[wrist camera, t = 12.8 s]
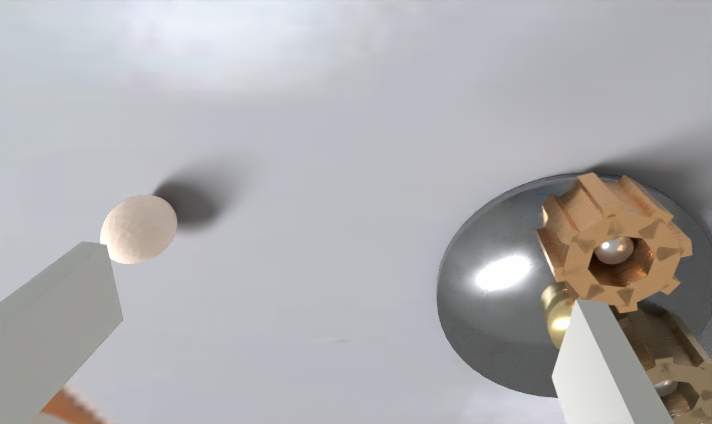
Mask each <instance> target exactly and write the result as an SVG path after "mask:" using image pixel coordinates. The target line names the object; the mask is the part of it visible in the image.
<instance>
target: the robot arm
mask: <svg viewBox="0 0 712 424" xmlns="http://www.w3.org/2000/svg"><path fill="white" fill-rule="evenodd" d="M122 321H123V316H122V311H121V307H120V302H119V298H118V293H117V289H116V284H115V280H114V275H113V270H112V266H111V261H110V257H109V252H108V248H107V244H99V243H90V242H81V243H80V244H78V245H77V246H76V247H74V248H73V249H72V250H70V251H69V252H68V253H66V254H65V255H64V256H62V257H61V258H60V259H58V260H57V261H55V262H54V263H53V264H51V265H50V266H49V267H47V268H46V269H45V270H43V271H42V272H41V273H39V274H38V275H37V276H35V277H34V278H33V279H31V280H30V281H29V282H27V283H26V284H25V285H23V286H22V287H20V288H19V289H18V290H16V291H15V292H14V293H12V294H11V295H10V296H8V297H7V298H6V299H4V300H3V301H2V302H0V424H29V423H30V422H31V421H32V420H33V419H34V417H35V416H36V415H37V414H38V413H39V412H40V411H41V410H42V409H43V408H44V406H45V405H46V404H47V403H48V402H49V401H50V400H51V399H52V398H53V397H54V395H55V394H56V393H57V392H58V391H59V390H60V389H61V388H62V387H63V386H64V384H65V383H66V382H67V381H68V380H69V379H70V378H71V377H72V376H73V375H74V373H75V372H76V371H77V370H78V369H79V368H80V367H81V366H82V365H83V364H84V363H85V361H86V360H87V359H88V358H89V357H90V356H91V355H92V354H93V353H94V352H95V350H96V349H97V348H98V347H99V346H100V345H101V344H102V343H103V342H104V341H105V339H106V338H107V337H108V336H109V335H110V334H111V333H112V332H113V331H114V330H115V328H116V327H117V326H118V325H119V324H120V323H121V322H122ZM552 380H553V383H554V386H555V389H556V393H557V396H558V399H559V402H560V405H561V408H562V412H563V415H564V418H565V421H566V424H674V422H673V420H672V418H671V416H670V415H669V413H668V411H667V409H666V408H665V406H664V404H663V402H662V400H661V399H660V397H659V395H658V393H657V391H656V390H655V388H654V386H653V384H652V383H651V381H650V379H649V377H648V375H647V374H646V372H645V370H644V368H643V367H642V365H641V363H640V361H639V359H638V358H637V356H636V354H635V352H634V351H633V349H632V347H631V345H630V343H629V342H628V340H627V338H626V336H625V334H624V333H623V331H622V329H621V327H620V326H619V324H618V322H617V320H616V318H615V317H614V315H613V313H612V311H611V310H610V308H609V306H608V304H607V302H598V301H590V300H581V299H576V300H575V303H574V307H573V310H572V313H571V316H570V319H569V323H568V326H567V329H566V332H565V335H564V339H563V342H562V345H561V348H560V351H559V355H558V358H557V361H556V364H555V368H554V371H553V374H552Z"/></svg>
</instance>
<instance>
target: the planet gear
mask: <svg viewBox="0 0 712 424" xmlns="http://www.w3.org/2000/svg"><path fill="white" fill-rule="evenodd" d="M577 180H578V185H577V186H575V187H574V188H572V189H570V190H569V191H567V192H566V193H564V194H563V195H561V196H559V197H558V196H556V195H554V194H552V193H551V194H550V195H549V196H548V198H547V199H546V200H545V202H544V203H543V204H542V206H543V208H544V210H545V212H546V214H547V215H548V218H547V221H546V225H545V227H544V228H540V229H536V231H537V235H538V240H539V243H540V245H541V248H542V250H543V252H544V255H545V257H546V259H547V261H548V264H549V266H550V268H551V271H552V273H553V275H554V278H555V280H556V282H561V281H564V283H565V285H566V287H567V289H568V291H569V294H570V296H571V298H572V300H573V302H574V303H575V300H576V299H581V300H590V301H598V302H607V304H608V305H615V306H616V308H617V310H618V312H619V313H625V312H631V311H637V310H638V309H637V302H639V301H641V300H643V299H645V298H647V297H648V296H650V295H652V294H654V293H656V292H658V291H661V292H663V293H665V294H667V295H669V294H670V293H671V292H672V291H673V290H674V289H675V288H676V287H677V286H678V285H679V284H680V283H681V282H680V281H679V280H678V279H677V278H676V277H675V275H674V273H675V270H676V268H677V265H678V263H679V261H680V258H681V257H686V256H691V255H692V244H691V239H689V238H688V237H687V236H686V235H685V234H684V233H683V232H682V231H681V230H680V229H679V228H678V227H677V226H676V225H675V224H674V223H673V222H672V221H671V219H672V218H673V217H674V216H673V215H672V214H671V213H670V212H669V211H668V210H667V209H666V208H665V207H664V206H663V205H661V204H660V203H659V202H658V201H657V200H656V199H655V198H654V197H653V196H652V195H651V194H650V193H649V192H648V191H647V190H646V189H644V188H643V187H642V186H641V185H640V184H639V183H638V182H637V181H635V180H633V179H631V178H629V177H627V176H625V175H623V176H622V178H621V179H620V180H619V181H618V182H608V181H601V180H600V179H599V178H598V177H597V176H596V174H595V173H594V172H592V173H588V174H584V175H580V176H577ZM615 236H626V237H629V238H630V239H631V241H632V242H633V252H632V254H631V255H630V257H629V258H628V259H626V260H625V261H623V262H621V263H618V264H606V263H603V262H602V261H600V260H599V259H598V258H597V256H596V254H595V253H594V251H593V250H594V248H596V247H598V246H600V245H601V244H603V243H605V242H607V241H608V240H610V239H612V238H614V237H615Z"/></svg>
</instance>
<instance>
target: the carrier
mask: <svg viewBox="0 0 712 424" xmlns="http://www.w3.org/2000/svg"><path fill="white" fill-rule="evenodd" d="M584 174H588V173H576V174H564V175H557V176H552V177H547V178H542V179H539V180H536V181H532V182H529V183H526V184H523V185H521V186H518V187H516V188H514V189H512V190H509V191H507V192H505V193H503V194H502V195H500V196H498V197H497V198H495V199H493V200H492V201H490V202H488V203H487V204H486V205H485V206H483V207H482V208H481V209H479V210H478V211H477V212H475V213H474V214H473V215H472V216H471V217H470V218H469V219H468V220H467V221H466V222H465V223H464V224H463V226H462V227H461V228H460V229H459V231H458V232H457V233H456V235H455V236H454V237H453V239H452V241H451V242H450V244H449V246H448V248H447V249H446V251H445V254H444V256H443V259H442V261H441V264H440V269H439V273H438V278H437V307H438V315H439V319H440V322H441V326H442V328H443V331H444V333H445V335H446V338H447V339H448V341H449V343H450V344H451V346H452V347H453V349H454V350H455V351H456V353H457V354H458V355H459V356H460V357H461V358H462V360H464V361H465V362H466V363H467V364H468V365H469V366H470V367H471V368H472V369H474V370H475V371H477V372H478V373H480V374H481V375H482V376H484V377H486V378H487V379H489V380H491V381H493V382H495V383H497V384H499V385H502V386H504V387H507V388H509V389H512V390H515V391H519V392H522V393H526V394H531V395H536V396H543V397H554V398H558V396H557V393H556V389H555V386H554V383H553V380H552V374H553V371H554V368H555V364H556V361H557V358H558V355H559V351H560V348H561V345H562V342H563V339H564V335H565V332H566V329H567V326H568V323H569V319H570V316H571V313H572V310H573V307H574V302H573V300H572V298H571V296H570V294H569V291H568V289H567V287H566V285H565V283H564V281H561V282H556V280H555V278H554V275H553V273H552V271H551V268H550V266H549V264H548V261H547V259H546V257H545V255H544V252H543V250H542V248H541V245H540V243H539V240H538V235H537V231H536V229H540V228H544V227H545V225H546V221H547V218H548V215H547V214H546V212H545V210H544V208H543V206H542V204H543V203H544V202H545V200H546V199H547V198H548V196H549V195H550V194H551V193H552V194H554V195H556V196H558V197H559V196H561V195H563V194H564V193H566V192H567V191H569V190H570V189H572V188H574V187H575V186H577V185H578V180H577V176H580V175H584ZM596 176H597V177H598V178H599V179H600V180H601V181H608V182H618V181H619V180H620V179H621V178H622V177H619V176H612V175H606V174H596ZM638 183H639V184H640V185H641V186H642V187H643V188H644V189H646V190H647V191H648V192H649V193H650V194H651V195H652V196H653V197H654V198H655V199H656V200H657V201H658V202H659V203H660V204H661V205H663V206H664V207H665V208H666V209H667V210H668V211H669V212H670V213H671V214H672V215H673V216H674V217H673V218H672V219H671V221H672V222H673V223H674V224H675V225H676V226H677V227H678V228H679V229H680V230H681V231H682V232H683V233H684V234H685V235H686V236H687V237H688V238H689V239H691V244H692V255H691V256H686V257H681V258H680V261H679V263H678V265H677V268H676V270H675V273H674V275H675V277H676V278H677V279H678V280H679V281H680V282H681V283H680V284H679V285H678V286H677V287H676V288H675V289H674V290H673V291H672V292H671V293H670V294H669V295H667V294H665V293H663V292H661V291H658V292H656V293H654V294H652V295H650V296H648V297H647V298H645V299H643V300H641V301H639V302H637V309H638V310H637V311H631V312H625V313H619V312H618V310H617V308H616V306H615V305H608V306H609V308H610V310H611V311H612V313H613V315H614V317H615V318H616V320H617V322H618V324H619V326H620V327H621V329H622V331H623V333H624V334H625V336H626V338H627V340H628V342H629V343H630V345H631V347H632V349H633V351H634V352H635V354H636V356H637V358H638V359H639V361H640V363H641V365H642V367H643V368H644V370H645V372H646V374H647V375H648V377H649V379H650V381H651V383H652V384H653V386H654V388H655V390H656V391H657V393H658V395H659V397H660V399H661V400H662V402H663V404H664V406H665V408H666V409H667V411H668V413H669V415H670V416H671V418H672V420H673V422H674V424H701V423H703V424H712V359H711V357H710V356H709V355H708V353H707V352H706V351H705V349H704V348H703V347H702V346H701V344H700V343H699V342H698V340H697V337H698V336H699V335H700V334H701V332H702V331H703V329H704V327H705V325H706V324H707V322H708V320H709V318H710V316H711V313H712V245H711V243H710V241H709V240H708V238H707V236H706V234H705V233H704V231H703V230H702V228H701V227H700V226H699V225H698V224H697V222H696V221H695V220H694V219H693V218H692V217H691V216H690V215H689V214H688V213H687V212H686V211H684V210H683V209H682V208H681V207H680V206H679V205H677V204H676V203H675V202H674V201H673V200H671V199H670V198H669V197H667V196H665V195H664V194H662V193H661V192H659V191H657V190H656V189H654V188H651V187H649V186H647V185H644V184H642V183H640V182H638ZM593 251H594V253H595V254H596V256H597V258H598V259H599V260H600V261H602V262H603V263H606V264H618V263H621V262H623V261H625V260H626V259H628V258H629V257H630V255H631V254H632V252H633V242H632V241H631V239H630V238H629V237H626V236H615V237H614V238H612V239H610V240H608V241H607V242H605V243H603V244H601V245H600V246H598V247H596V248H594V250H593Z"/></svg>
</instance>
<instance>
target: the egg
mask: <svg viewBox="0 0 712 424" xmlns="http://www.w3.org/2000/svg"><path fill="white" fill-rule="evenodd" d="M176 230H177V217H176V213H175V211H174V210H173V208H172V206H171V205H170V204H169V203H168V202H167V201H165V200H163V199H162V198H160V197H156V196H153V195H138V196H134V197H131V198H128V199H126V200H125V201H123V202H121V203H120V204H119V205H117V206H116V207H115V208H114V209H113V210H112V211H111V212H110V213H109V215H108V216H107V218H106V219H105V222H104V224H103V227H102V230H101V237H100V242H101V244H107V248H108V252H109V257H110V258H111V259H112V260H114V261H116V262H119V263H124V264H133V263H139V262H143V261H147V260H150V259H152V258H154V257H156V256H157V255H159V254H160V253H161V252H162V251H164V250H165V249H166V248H167V247H168V246H169V244H170V243H171V242H172V240H173V238H174V236H175V234H176Z"/></svg>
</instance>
